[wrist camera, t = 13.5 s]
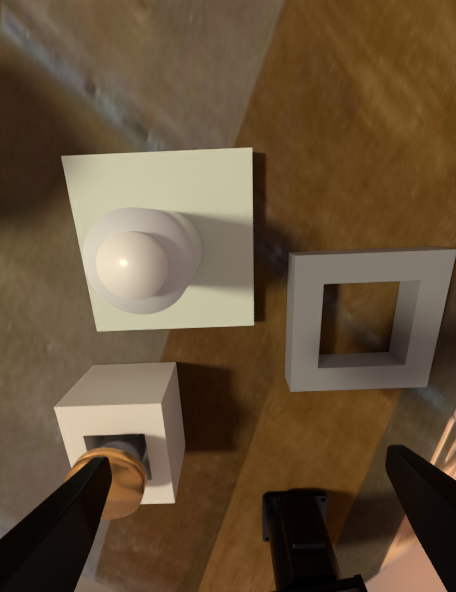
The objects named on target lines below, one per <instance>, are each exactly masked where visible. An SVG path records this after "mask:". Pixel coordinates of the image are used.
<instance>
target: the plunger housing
mask: <svg viewBox="0 0 456 592" xmlns="http://www.w3.org/2000/svg"><path fill="white" fill-rule="evenodd" d="M54 409H55V412H56V416H57V419H58V423H59V426H60V430H61V433H62V437H63V440H64V444H65V447H66V451H67V454H68V457H69V461H70V464H71V468H72V467H73V466H74V464H75V462H76V461H77V459H78V458H79V457H80V456H81V455H82V454H84V453H85V452H87V451H89V450H92V449H96V448H99V446H100V444H101V442H102V441H103V439H104V437H105V435H119V434H145V440H146V446H147V449H146V452H145V454H144V457H143V460H142V464H143V466H144V467H145V470H146V472H147V478H148V479H147V485H146V488H145V491H144V495H143V498H142V501H141V503H140V504H159V503H175V499H176V494H177V489H178V483H179V478H180V473H181V467H182V462H183V456H184V451H185V437H184V428H183V419H182V411H181V402H180V393H179V384H178V375H177V366H176V362H160V363H133V364H105V365H93V366H92V367H91V368H90V369H89V370H88V371H87V372H86V373H85V374H84V375H83V377H82V378H81V379H80V380H79V381H78V382H77V383H76V384H75V385H74V386H73V387H72V388H71V389H70V391H69V392H68V393H67V394H66V395H65V396H64V397H63V398H62V399H61V400H60V401H59V402H58V403H57V404H56V406H55V407H54Z"/></svg>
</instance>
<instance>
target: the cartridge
mask: <svg viewBox="0 0 456 592" xmlns="http://www.w3.org/2000/svg"><path fill="white" fill-rule="evenodd" d="M202 257H203V243H202V239H201V236H200V233H199V232H198V230H197V228H196V227H195V225H194V224H193V223H192V222H191V221H190V220H189V219H187V218H186V217H184V216H183V215H181V214H179V213H176V212H172V211H166V210H156V209H146V208H135V207H127V208H120V209H116V210H113V211H111V212H108V213H107V214H105V215H103V216H102V217H101V218H99V219H98V220H97V221H96V222H95V223H94V224H93V225H92V227H91V228H90V230H89V232H88V234H87V236H86V238H85V242H84V246H83V265H84V269H85V273H86V275H87V278H88V280H89V282H90V283H91V285H92V287H93V288H94V290H95V291H96V292H97V293H98V294H99V295H100V297H102V298H103V299H104V300H105V301H106V302H108V303H109V304H110V305H112V306H114V307H115V308H117V309H120V310H122V311H125V312H128V313H132V314H143V315H145V314H153V313H157V312H160V311H163V310H165V309H167V308H169V307H170V306H172V305H173V304H174V303H176V302H177V301H178V300H179V299H180V297H181V296H182V295H183V293H184V292H185V290H186V288H187V287H188V285H189V283H190V281H191V280H192V278H193V276H194V274H195V273H196V271H197V269H198V267H199V266H200V263H201V261H202Z"/></svg>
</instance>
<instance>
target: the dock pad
mask: <svg viewBox="0 0 456 592" xmlns="http://www.w3.org/2000/svg"><path fill="white" fill-rule="evenodd" d="M61 159H62V164H63V168H64V173H65V178H66V183H67V188H68V193H69V197H70V202H71V207H72V212H73V217H74V221H75V226H76V231H77V236H78V241H79V246H80V250H81V255H82V260H83V246H84V242H85V238H86V236H87V234H88V232H89V230H90V228H91V227H92V225H93V224H94V223H95V222H96V221H97V220H98V219H99V218H101V217H102V216H103V215H105V214H107V213H108V212H111V211H113V210H116V209H120V208H127V207H135V208H146V209H156V210H166V211H172V212H176V213H179V214H181V215H183V216H184V217H186V218H187V219H189V220H190V221H191V222H192V223H193V224H194V225H195V227H196V228H197V230H198V232H199V233H200V236H201V239H202V243H203V257H202V261H201V263H200V266H199V267H198V269H197V271H196V273H195V274H194V276H193V278H192V280H191V281H190V283H189V285H188V287H187V288H186V290H185V292H184V293H183V295H182V296H181V297H180V299H179V300H178V301H177V302H176V303H174V304H173V305H172V306H170V307H169V308H167V309H165V310H163V311H160V312H157V313H153V314H145V315H143V314H132V313H128V312H125V311H122V310H120V309H117V308H115V307H114V306H112V305H110V304H109V303H108V302H106V301H105V300H104V299H103V298H102V297H100V295H99V294H98V293H97V292H96V291H95V290H94V288H93V287H92V285H91V283H90V282H89V280H88V278H87V275H86V273H85V275H86V279H87V284H88V289H89V294H90V299H91V304H92V308H93V313H94V318H95V323H96V328H97V331H118V330H144V329H171V328H197V327H224V326H250V325H254V274H253V179H252V148H232V149H209V150H186V151H163V152H141V153H118V154H95V155H72V156H61ZM84 270H85V269H84Z"/></svg>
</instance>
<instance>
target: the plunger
mask: <svg viewBox="0 0 456 592" xmlns="http://www.w3.org/2000/svg"><path fill="white" fill-rule="evenodd" d="M146 449H147V446H146V440H145V434H119V435H105V437H104V439H103V441H102V442H101V444H100V446H99V448H96V449H92V450H89V451H87V452H85V453H84V454H82V455H81V456H80V457H79V458H78V459H77V461H76V462H75V464H74V466H73V467H72V469H71V470H70V472H69V474H68V475H67V477H66V479H65V481H64V483H65V482H66V481H67V480H68V479H69V478H70V477H72V476H73V475H74V474H75V473H76V472H77V471H78V470H80V469H81V468H82V467H83V466H84V465H85V464H86V463H88V462H89V461H90V460H91V459H92V458H94V457H98V456H106V457H108V459H109V463H110V467H111V472H112V484H111V487H110V490H109V494H108V497H107V500H106V503H105V507H104V510H103V513H102V516H101V519H118V518H122V517H125V516H127V515H129V514H131V513H133V512H134V511H135V510H136V509H137V508H138V507H139V505H140V503H141V501H142V498H143V495H144V491H145V488H146V485H147V479H148V478H147V472H146V470H145V467H144V466H143V464H142V460H143V457H144V454H145V452H146Z"/></svg>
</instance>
